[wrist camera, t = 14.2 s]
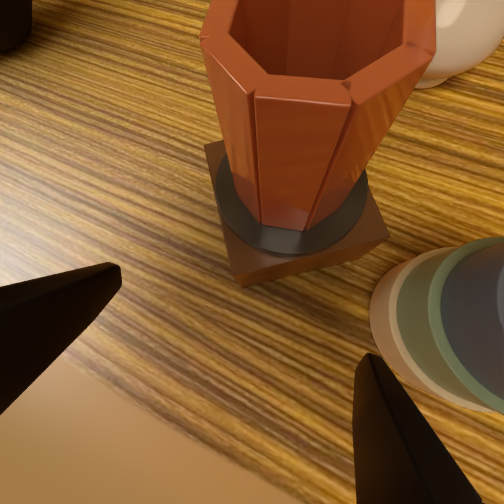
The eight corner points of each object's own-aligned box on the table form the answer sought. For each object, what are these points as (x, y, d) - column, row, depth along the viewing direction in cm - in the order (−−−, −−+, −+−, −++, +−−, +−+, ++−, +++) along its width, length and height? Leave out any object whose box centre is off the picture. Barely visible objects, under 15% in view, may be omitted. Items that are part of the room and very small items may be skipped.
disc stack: (537, 377, 15) (881, 447, 7) (399, 411, 15) (568, 527, 7) (468, 245, 18) (653, 175, 9) (350, 275, 18) (426, 231, 9)
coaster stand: (358, 259, 18) (396, 232, 13) (241, 288, 18) (230, 274, 13) (320, 160, 21) (339, 103, 15) (218, 185, 21) (201, 137, 15)
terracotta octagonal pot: (365, 190, 14) (491, 20, 6) (278, 250, 13) (293, 146, 5) (300, 121, 15) (332, -83, 8) (219, 171, 15) (165, 4, 7)
